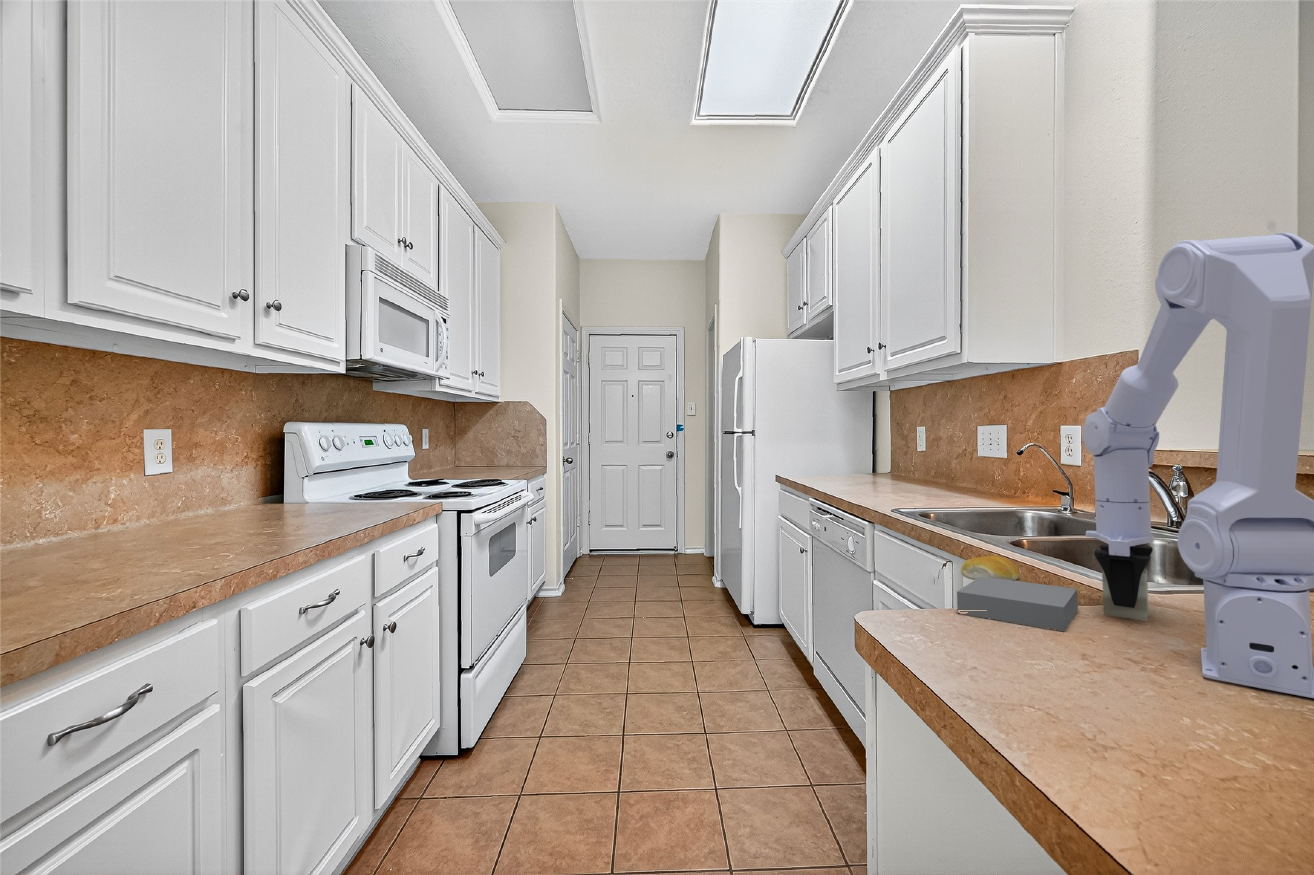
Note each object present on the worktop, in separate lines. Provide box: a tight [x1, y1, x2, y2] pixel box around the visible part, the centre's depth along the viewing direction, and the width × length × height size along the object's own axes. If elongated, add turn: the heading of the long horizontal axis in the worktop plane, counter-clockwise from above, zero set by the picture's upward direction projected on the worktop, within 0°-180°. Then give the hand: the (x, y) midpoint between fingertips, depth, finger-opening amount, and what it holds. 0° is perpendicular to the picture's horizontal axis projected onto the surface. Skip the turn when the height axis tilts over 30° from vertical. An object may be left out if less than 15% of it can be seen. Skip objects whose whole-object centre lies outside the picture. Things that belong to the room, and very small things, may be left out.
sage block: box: [1101, 568, 1150, 622], centre depth 75 cm, size 4×4×6 cm
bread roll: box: [960, 555, 1021, 581], centre depth 98 cm, size 8×9×4 cm
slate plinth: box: [956, 577, 1079, 632], centre depth 77 cm, size 12×12×3 cm
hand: (1125, 602), depth 75 cm, fingers open, 5 cm apart
